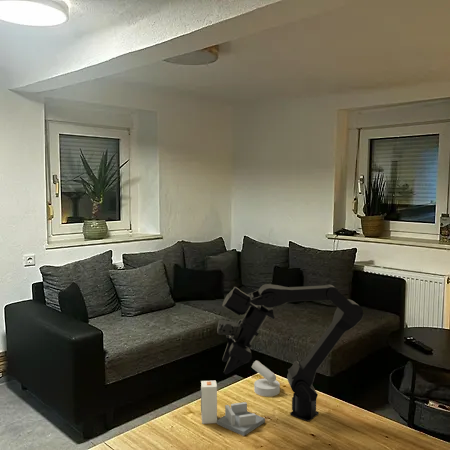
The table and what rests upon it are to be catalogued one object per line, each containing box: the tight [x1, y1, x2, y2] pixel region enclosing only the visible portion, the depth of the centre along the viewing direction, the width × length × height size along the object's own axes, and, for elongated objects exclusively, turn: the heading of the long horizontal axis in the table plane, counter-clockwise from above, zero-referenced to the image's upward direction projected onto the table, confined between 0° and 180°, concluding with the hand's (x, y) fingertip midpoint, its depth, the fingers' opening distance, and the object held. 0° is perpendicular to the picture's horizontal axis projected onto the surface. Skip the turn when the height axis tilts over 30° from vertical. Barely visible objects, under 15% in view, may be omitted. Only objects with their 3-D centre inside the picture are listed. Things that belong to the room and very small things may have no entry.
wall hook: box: [251, 360, 281, 397], centre depth 157 cm, size 9×10×10 cm
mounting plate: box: [216, 401, 266, 437], centre depth 135 cm, size 10×10×4 cm
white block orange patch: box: [200, 380, 218, 425], centre depth 137 cm, size 4×4×11 cm
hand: (224, 367), depth 138 cm, fingers open, 9 cm apart
